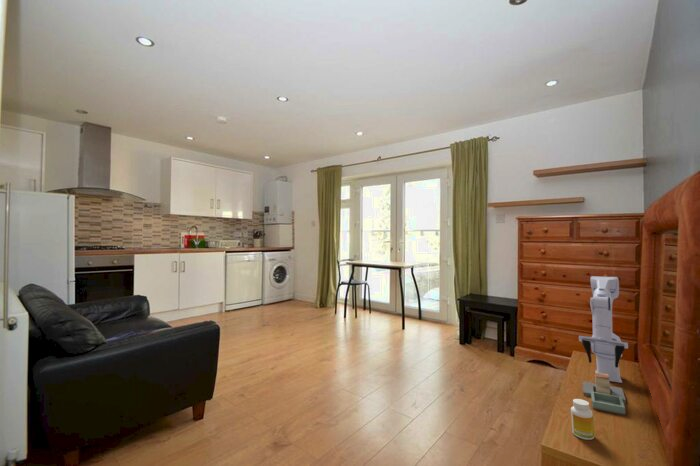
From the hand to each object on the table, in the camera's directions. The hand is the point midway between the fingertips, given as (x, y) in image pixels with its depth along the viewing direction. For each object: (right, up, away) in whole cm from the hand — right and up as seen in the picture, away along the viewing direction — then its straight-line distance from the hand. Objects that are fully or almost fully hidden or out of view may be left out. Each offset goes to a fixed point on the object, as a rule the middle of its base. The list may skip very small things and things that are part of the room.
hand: (603, 364), depth 118 cm
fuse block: (+1, -11, +1) cm, 11 cm away
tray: (-5, -11, -8) cm, 14 cm away
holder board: (+1, -11, +1) cm, 11 cm away
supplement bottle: (-24, -12, -23) cm, 35 cm away
